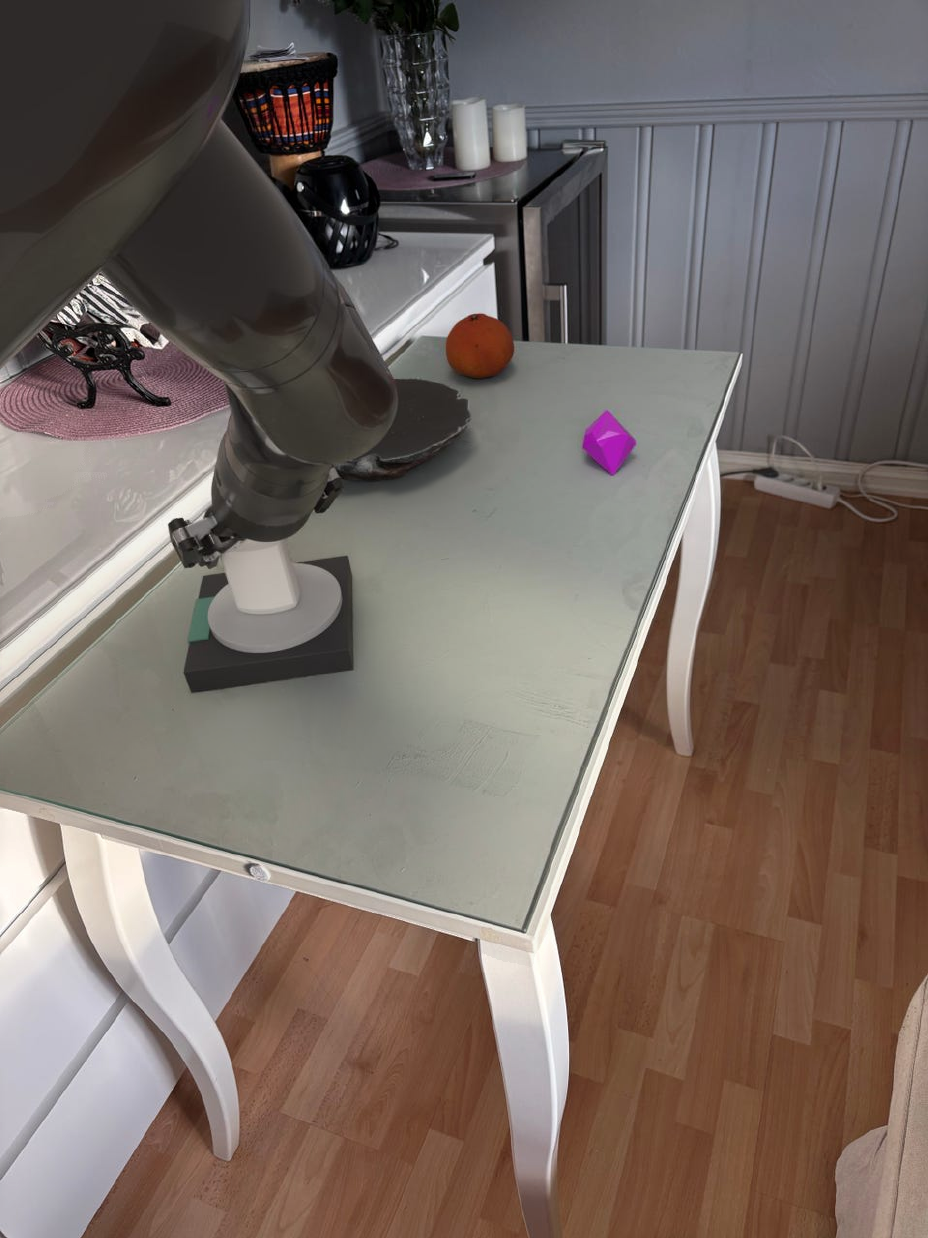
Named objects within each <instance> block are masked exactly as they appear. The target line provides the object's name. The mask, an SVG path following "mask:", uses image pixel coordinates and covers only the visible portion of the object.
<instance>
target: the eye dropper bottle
mask: <svg viewBox="0 0 928 1238" xmlns="http://www.w3.org/2000/svg"><path fill="white" fill-rule="evenodd" d="M231 538H233V537H231ZM219 559H220V562H221V565H222V567H223V570H224V573H225V574H226V577H227V580H228V583H229V586H230V589H231V592H232V595H233V598H234V601H235V604H236V607H237V609H238V610H239V611H241V612H243V613H248V614H257V615H265V614H274V613H279V612H283V611H287V610H290V609H293V608H294V607H296V605H297V604H298V600H299V596H300V590H299V586H298V582H297V579H296V575H295V571H294V567H293V564H292V563H293V560H292V557H291V553H290V549H289V544H288V542H287V538H286V539H283V540H280V541H275V542H257V541H253V540H248V541H246V542H245V543H244V544H243V545H241V546H240V547H239V548H238V549H236V550H235V551H232V552H228V553H224V554H221V555H220V557H219Z"/></svg>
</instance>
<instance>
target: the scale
mask: <svg viewBox="0 0 928 1238" xmlns="http://www.w3.org/2000/svg"><path fill="white" fill-rule="evenodd" d="M292 564H293V567H294V571H295V575H296V579H297V582H298V586H299V590H300V596H299V600H298V604H297V605H296V607H294V608H293V609H290V610H287V611H283V612H279V613H274V614H265V615H257V614H248V613H243V612H241V611H239V610H238V609H237V607H236V604H235V601H234V598H233V595H232V592H231V589H230V586H229V583H228V580H227V577H226V574H225V572H219V573H213V574H206V575H202V578H201V584H200V588H199V594H198V597H197V598H196V600H195V603H194V607H193V613H192V617H191V622H190V628H189V632H188V637H187V643H188V648H187V653H186V658H185V663H184V666H183V672H182V673H183V675H184V678H185V681H186V683H187V686H188V688H189V691H190V693H191V694H194V693H199V692H201V693H202V692H206V691H207V692H208V691H213V690H214V691H215V690H222V689H229V688H235V687H242V686H250V685H256V684H263V683H264V684H265V683H270V682H277V681H284V680H292V679H298V678H306V677H312V676H319V675H326V674H327V675H328V674H333V673H339V672H341V673H342V672H347V671H348V672H349V671H353V670H354V624H353V622H354V621H353V620H354V619H353V613H354V612H353V574H352V570H351V565H350V560H349V556H348V555H341V556H335V557H326V558H320V559H319V558H318V559H313V560H306V561H299V562H292Z"/></svg>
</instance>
